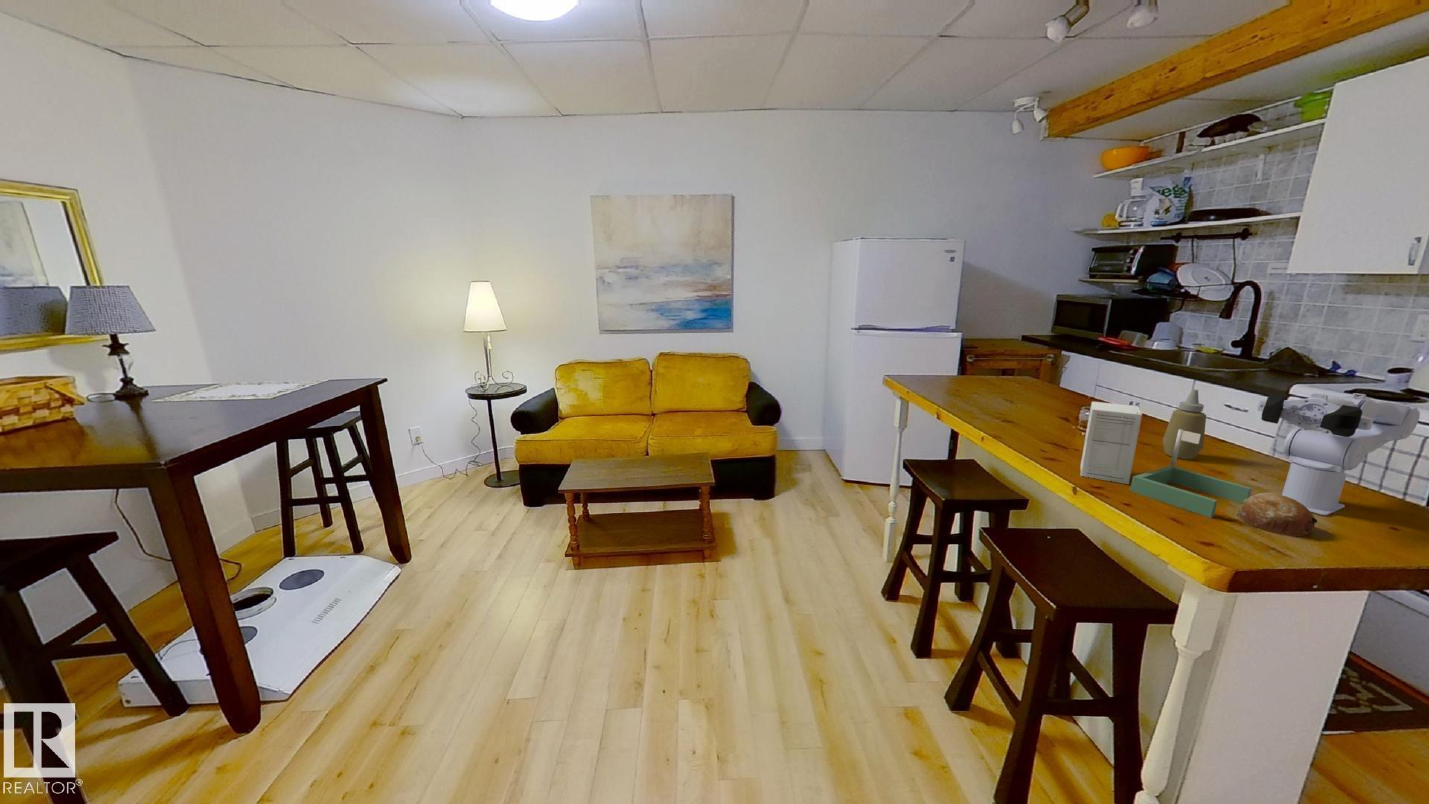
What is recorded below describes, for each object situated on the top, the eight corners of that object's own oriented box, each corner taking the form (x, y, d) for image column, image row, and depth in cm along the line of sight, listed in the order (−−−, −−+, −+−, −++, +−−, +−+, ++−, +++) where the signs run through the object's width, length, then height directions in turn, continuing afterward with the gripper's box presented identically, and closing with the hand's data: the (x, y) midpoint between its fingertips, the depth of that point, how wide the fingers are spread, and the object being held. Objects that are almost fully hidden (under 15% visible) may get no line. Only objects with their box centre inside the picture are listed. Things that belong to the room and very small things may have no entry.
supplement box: (1126, 472, 125) (1140, 405, 121) (1130, 485, 118) (1145, 414, 114) (1079, 464, 131) (1090, 400, 127) (1079, 476, 123) (1091, 408, 119)
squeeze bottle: (1152, 450, 141) (1166, 386, 137) (1185, 451, 140) (1200, 387, 135) (1173, 460, 133) (1189, 393, 129) (1208, 462, 132) (1225, 394, 128)
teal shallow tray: (1167, 479, 121) (1179, 428, 118) (1248, 503, 109) (1263, 447, 106) (1129, 491, 115) (1141, 437, 112) (1210, 517, 102) (1225, 458, 99)
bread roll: (1241, 527, 107) (1227, 490, 107) (1314, 520, 100) (1298, 481, 100) (1248, 546, 99) (1232, 506, 99) (1327, 540, 92) (1310, 498, 93)
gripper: (1278, 385, 106) (1247, 386, 100) (1388, 401, 93) (1361, 404, 87) (1267, 418, 108) (1237, 421, 102) (1374, 439, 95) (1347, 444, 89)
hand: (1293, 416), depth 95 cm, fingers open, 7 cm apart
